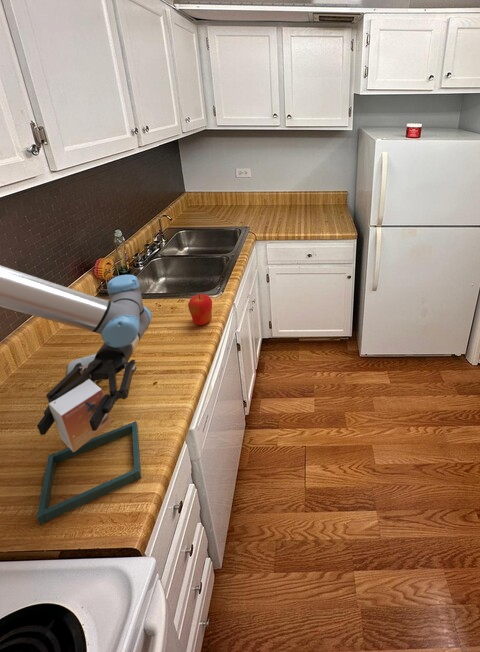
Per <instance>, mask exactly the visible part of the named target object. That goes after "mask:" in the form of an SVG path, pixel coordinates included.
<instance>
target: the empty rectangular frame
mask: <svg viewBox="0 0 480 652" xmlns="http://www.w3.org/2000/svg"><path fill="white" fill-rule="evenodd" d="M137 422H138V421H137V420H135V421H133V422H130V423H128V424H125V425H123V426H120V427H117V428H114V429H112V430H110V431H107V432H103V433H102V434H98V435H96V436H95V437H93V438H92V439H91V440H89V441H88V442H87V443H85V444H84V445H83V446H81V447H80V448H79V449H78V450H76V451H75V452H73V451H72V450H71V449H70V448H69V447H68V446H67V447H66V448H63V449H60V450H58V451H55V452H53V453H50V454H48V455H47V461H46V464H45V465H46V466H45V471H44V476H43V482H42V486H41V492H40V498H39V504H38V507H37V512H36V513H37V514H36V520H37V522H38V524H39V525H42V524H45V523H47V522H49V521H51V520H54V519H55V518H57V517H60V516H62V515H64V514H66V513H69V512H70V511H73V510H75V509H77V508H79V507H81V506H84V505H86V504H87V503H90V502H93V501H94V500H96V499H98V498H100V497H103V496H105V495H108V494H110V493H112V492H113V491H116V490H118V489H120V488H123V487H124V486H127V485H129V484H131V483H133V482H135V481H138V480H140V479H142V468H141V452H140V451H141V450H140V441H139V440H140V437H139V435H140V434H139V426H138V423H137ZM130 434H132V451H133V452H132V453H133V469H132V470H130V471H127V472H125V473H123V474H120V475H119V476H117V477H114V478H112V479H110V480H107V481H105V482H103V483H101V484H99V485H96V486H94V487H92V488H90V489H88V490H85V491H83V492H81V493H78V494H76V495H74V496H73V497H72V496H71V497H70V498H68V499H65V500H62V501H61V502H59V503H56V504H53V505H52V506H50V501H51V495H52V489H53V483H54V477H55V470H56V464H58V463H60V462H63V461H66V460H68V459H70V458H73V457H75V456H77V455H81V454H83V453H85V452H87V451H90V450H93V449H95V448H98V447H100V446H102V445H105V444H107V443H110V442H112V441H115V440H118V439H120V438H122V437H125V436H127V435H130Z"/></svg>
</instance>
